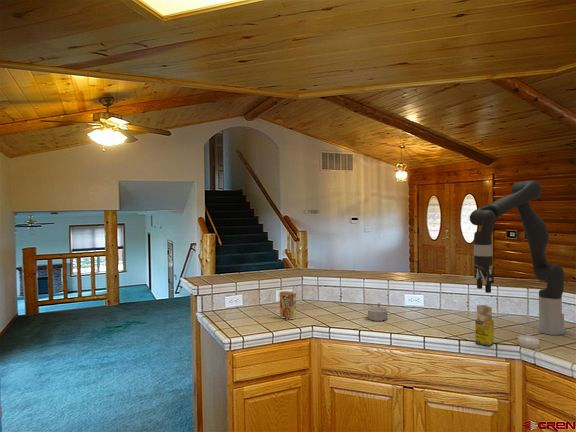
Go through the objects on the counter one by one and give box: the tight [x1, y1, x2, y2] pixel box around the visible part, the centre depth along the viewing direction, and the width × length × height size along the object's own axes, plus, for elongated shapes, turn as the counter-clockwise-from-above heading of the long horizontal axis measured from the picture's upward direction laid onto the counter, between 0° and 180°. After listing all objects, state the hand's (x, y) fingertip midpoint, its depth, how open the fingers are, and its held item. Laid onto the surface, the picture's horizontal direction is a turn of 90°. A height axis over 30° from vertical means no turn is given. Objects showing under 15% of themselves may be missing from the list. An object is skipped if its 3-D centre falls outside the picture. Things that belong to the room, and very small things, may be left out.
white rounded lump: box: [517, 334, 540, 350], centre depth 171 cm, size 8×8×4 cm
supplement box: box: [474, 318, 495, 348], centre depth 174 cm, size 6×6×11 cm
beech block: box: [476, 304, 493, 321], centre depth 173 cm, size 4×4×6 cm
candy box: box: [279, 290, 298, 318], centre depth 220 cm, size 9×4×15 cm, turn 67°
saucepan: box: [366, 302, 389, 322], centre depth 220 cm, size 12×20×6 cm, turn 163°
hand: (483, 290), depth 173 cm, fingers open, 8 cm apart
